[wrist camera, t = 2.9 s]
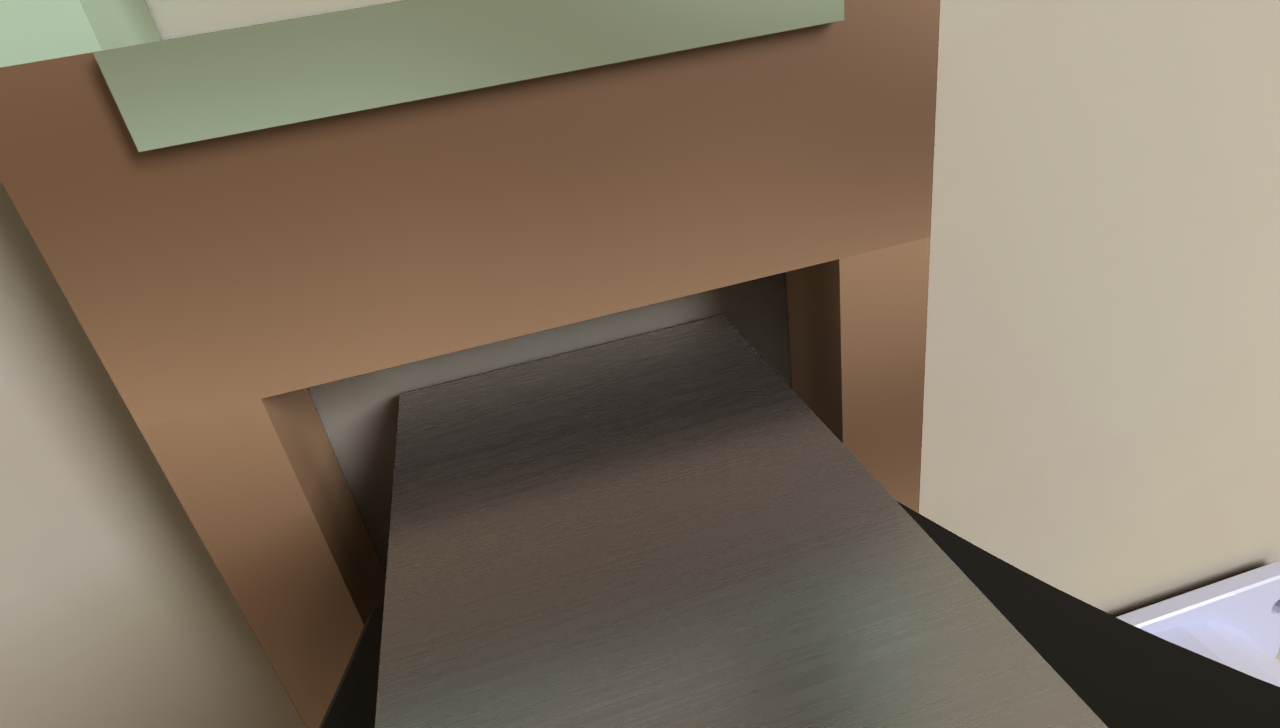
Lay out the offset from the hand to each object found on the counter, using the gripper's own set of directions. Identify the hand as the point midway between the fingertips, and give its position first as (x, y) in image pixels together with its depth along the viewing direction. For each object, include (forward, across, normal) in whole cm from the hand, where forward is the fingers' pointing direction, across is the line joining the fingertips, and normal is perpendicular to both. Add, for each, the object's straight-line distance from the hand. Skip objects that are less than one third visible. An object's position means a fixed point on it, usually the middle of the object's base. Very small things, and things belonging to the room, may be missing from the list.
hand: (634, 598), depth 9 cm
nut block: (+2, 0, 0) cm, 2 cm away
